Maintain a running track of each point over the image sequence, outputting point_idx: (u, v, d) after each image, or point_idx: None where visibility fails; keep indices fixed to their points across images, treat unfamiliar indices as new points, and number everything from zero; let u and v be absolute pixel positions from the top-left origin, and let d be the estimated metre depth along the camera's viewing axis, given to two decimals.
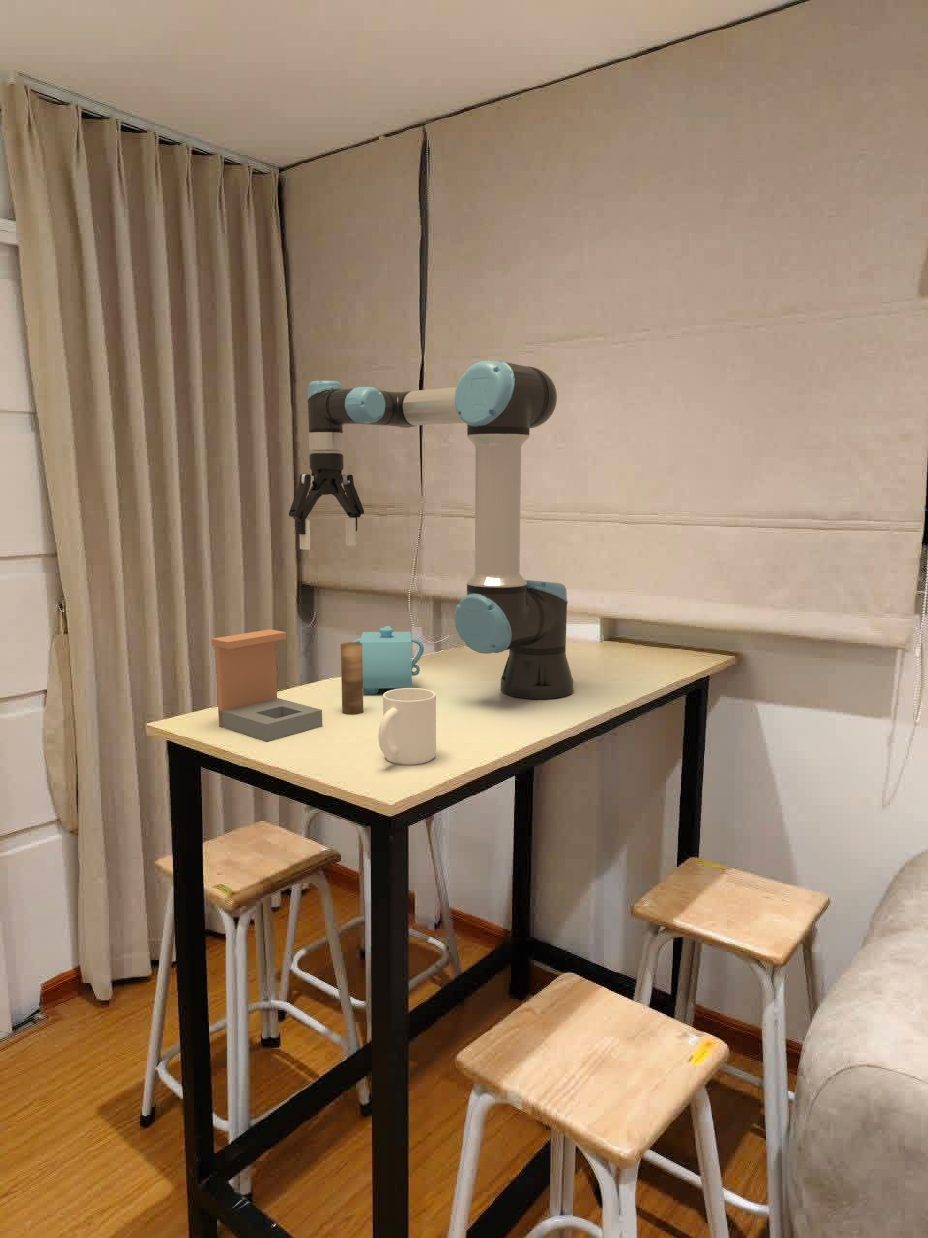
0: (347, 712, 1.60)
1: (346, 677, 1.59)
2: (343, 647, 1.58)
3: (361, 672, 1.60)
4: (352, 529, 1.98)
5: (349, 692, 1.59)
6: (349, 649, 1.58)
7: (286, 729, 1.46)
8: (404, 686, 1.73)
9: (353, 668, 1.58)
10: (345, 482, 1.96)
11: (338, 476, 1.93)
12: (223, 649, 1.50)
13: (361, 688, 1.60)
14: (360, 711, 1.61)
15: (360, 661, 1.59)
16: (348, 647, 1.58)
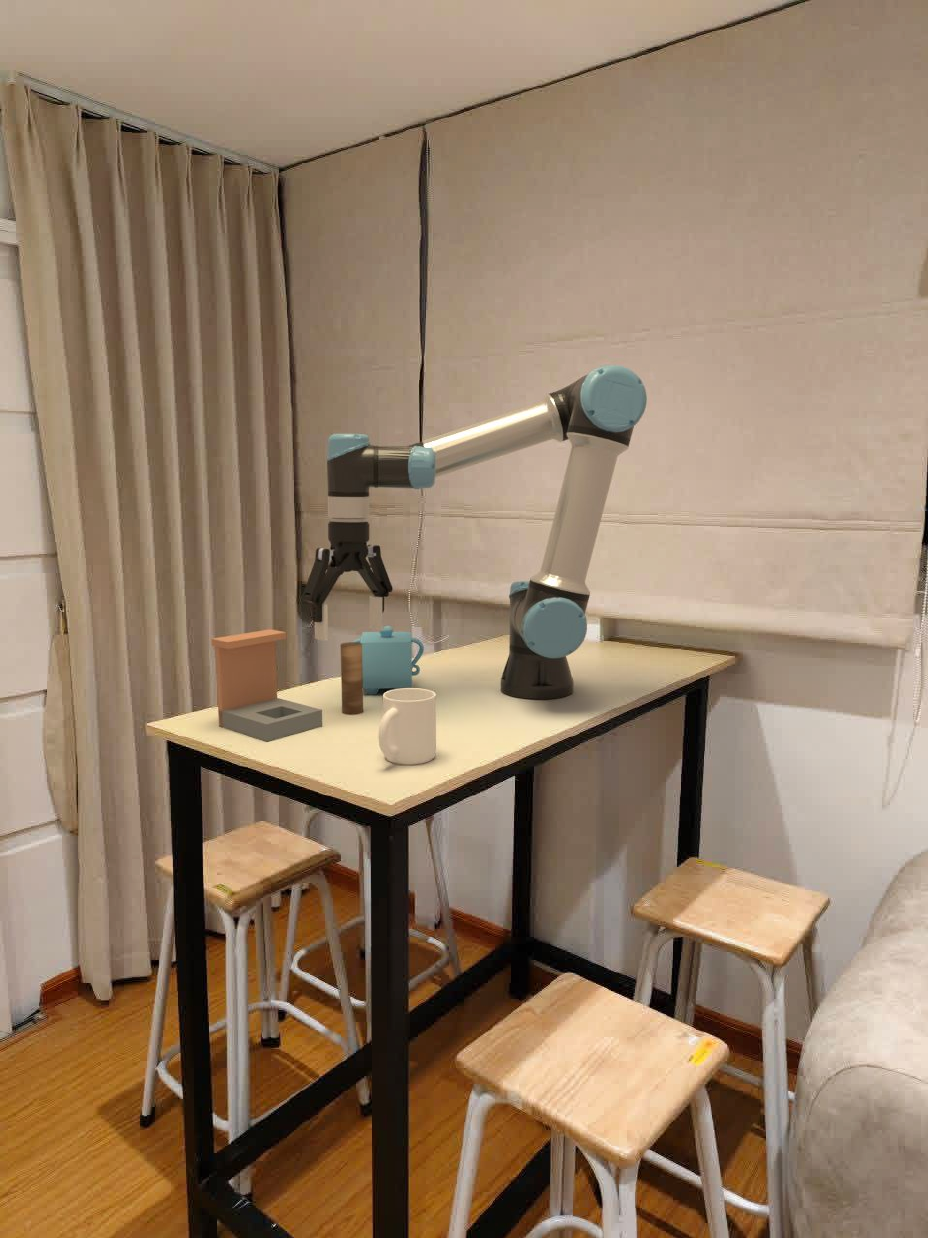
0: (347, 712, 1.60)
1: (346, 677, 1.59)
2: (343, 647, 1.58)
3: (361, 672, 1.60)
4: (378, 611, 1.63)
5: (349, 692, 1.59)
6: (348, 649, 1.58)
7: (286, 729, 1.46)
8: (404, 686, 1.73)
9: (353, 668, 1.58)
10: (371, 555, 1.60)
11: (362, 548, 1.58)
12: (223, 649, 1.50)
13: (361, 688, 1.60)
14: (360, 711, 1.61)
15: (360, 661, 1.59)
16: (348, 647, 1.58)
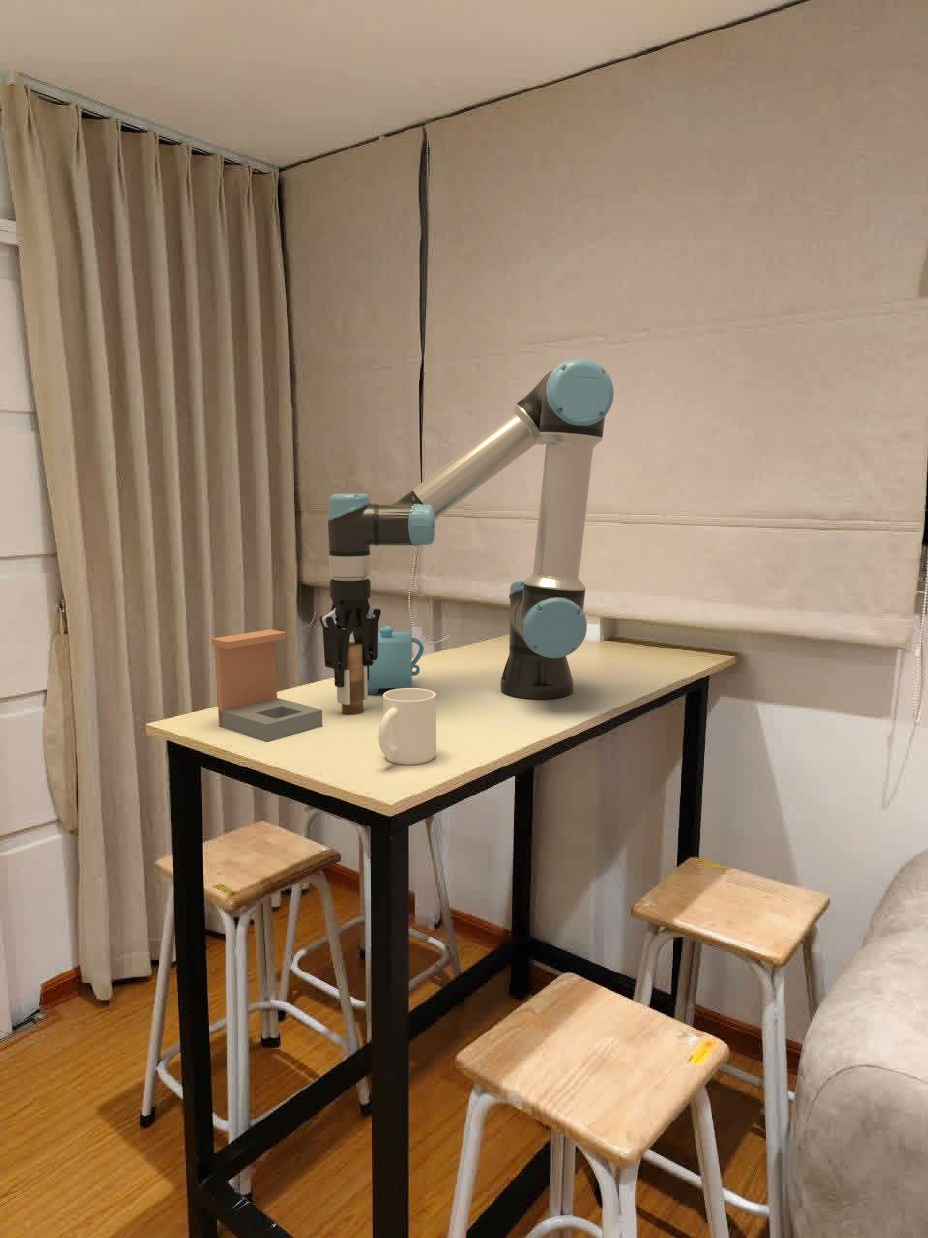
0: (347, 712, 1.60)
1: None
2: None
3: (361, 672, 1.60)
4: (363, 680, 1.62)
5: None
6: (349, 649, 1.58)
7: (286, 729, 1.46)
8: (404, 686, 1.73)
9: (353, 667, 1.58)
10: (369, 615, 1.62)
11: (365, 603, 1.60)
12: (223, 649, 1.50)
13: (361, 688, 1.60)
14: (360, 711, 1.61)
15: (360, 661, 1.59)
16: (348, 647, 1.58)
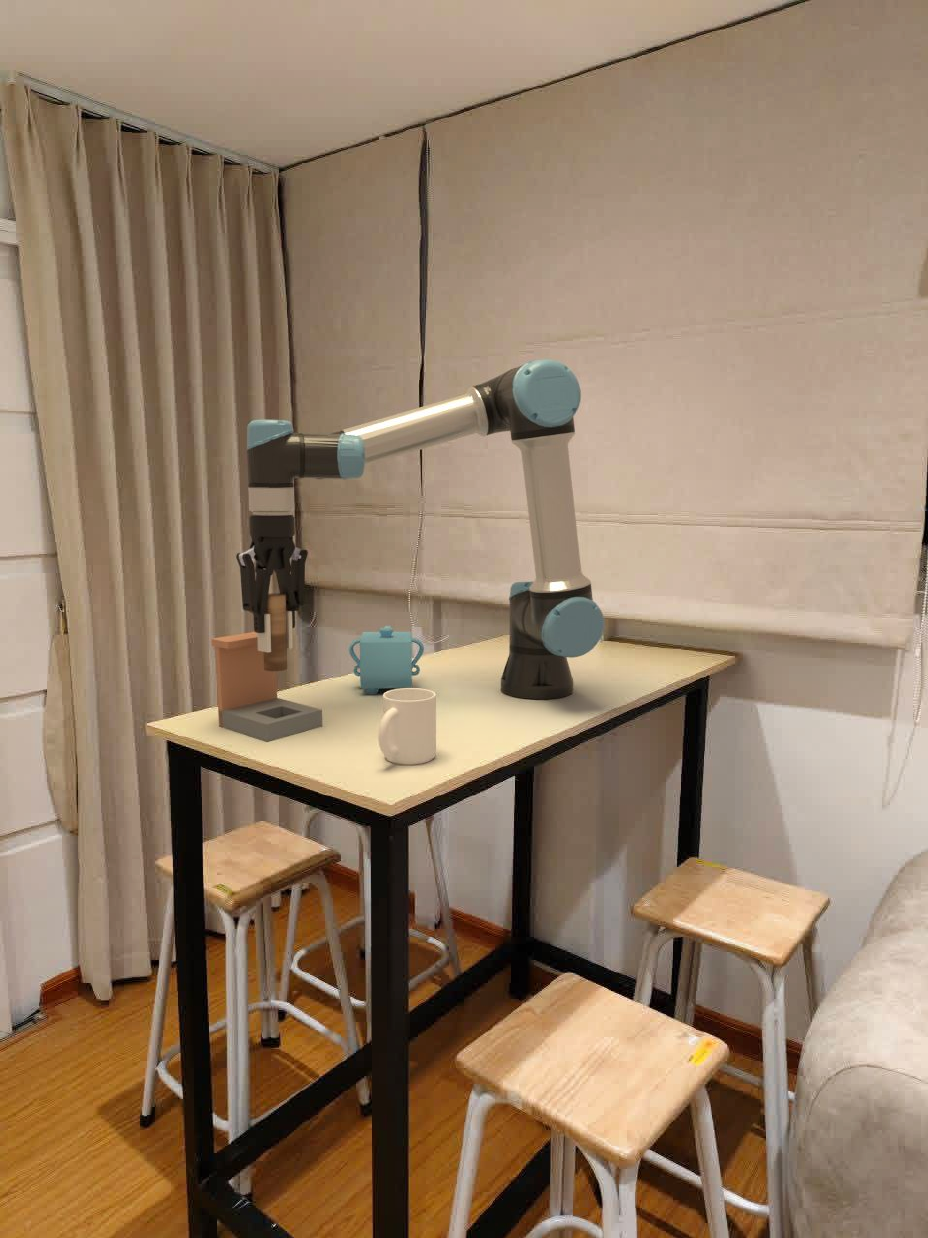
0: (268, 669, 1.47)
1: None
2: None
3: (284, 625, 1.47)
4: (287, 626, 1.48)
5: (271, 647, 1.46)
6: (270, 599, 1.45)
7: (286, 729, 1.46)
8: (404, 686, 1.73)
9: (275, 620, 1.46)
10: (295, 556, 1.49)
11: (289, 542, 1.47)
12: (223, 649, 1.50)
13: (284, 643, 1.47)
14: (283, 668, 1.48)
15: (283, 613, 1.46)
16: (269, 597, 1.45)
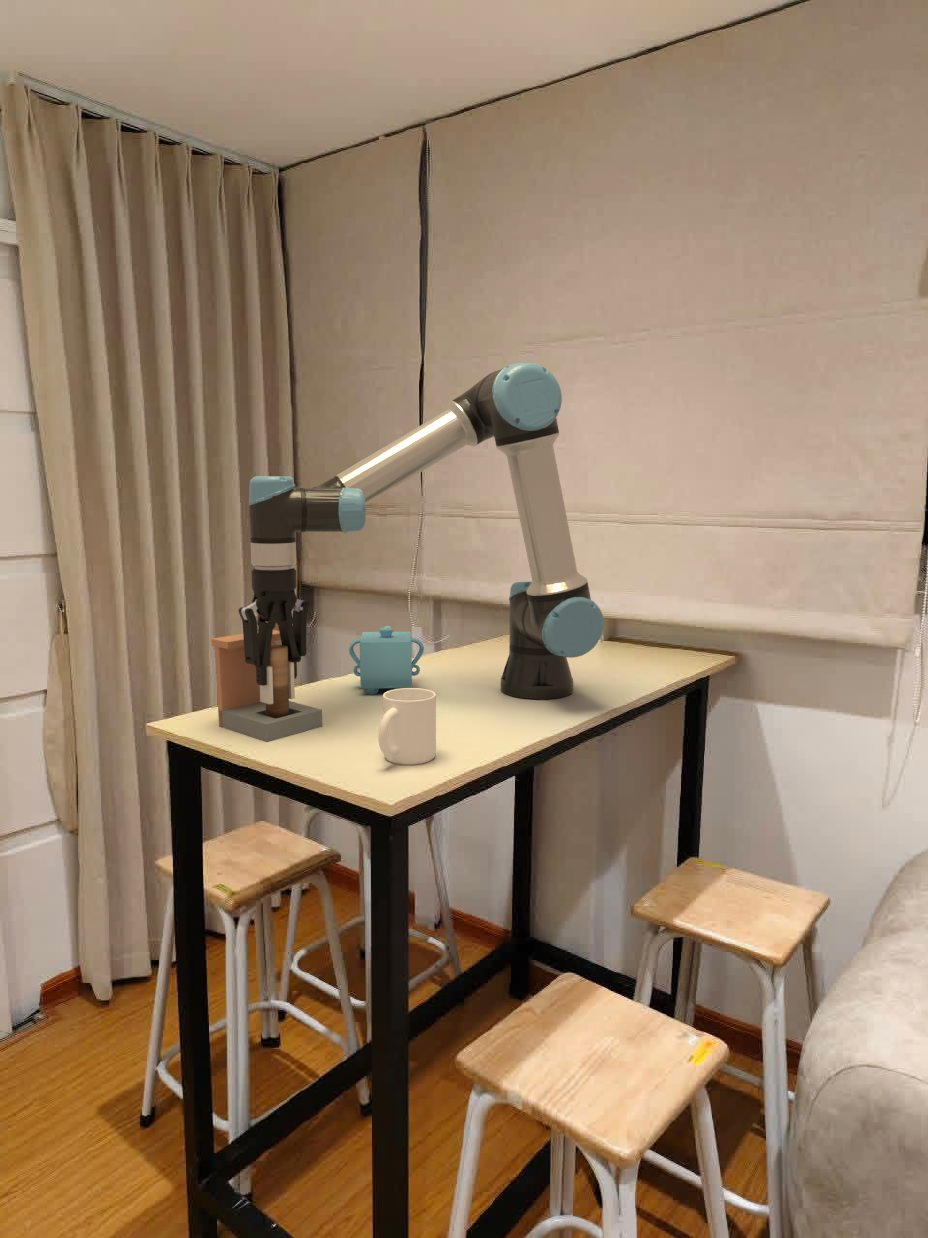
0: None
1: None
2: None
3: (286, 677, 1.49)
4: (289, 677, 1.50)
5: (273, 698, 1.48)
6: (272, 652, 1.46)
7: (286, 729, 1.46)
8: (404, 686, 1.73)
9: (277, 672, 1.47)
10: (297, 608, 1.50)
11: (291, 595, 1.48)
12: (223, 649, 1.50)
13: (286, 694, 1.49)
14: None
15: (285, 665, 1.48)
16: (271, 650, 1.46)
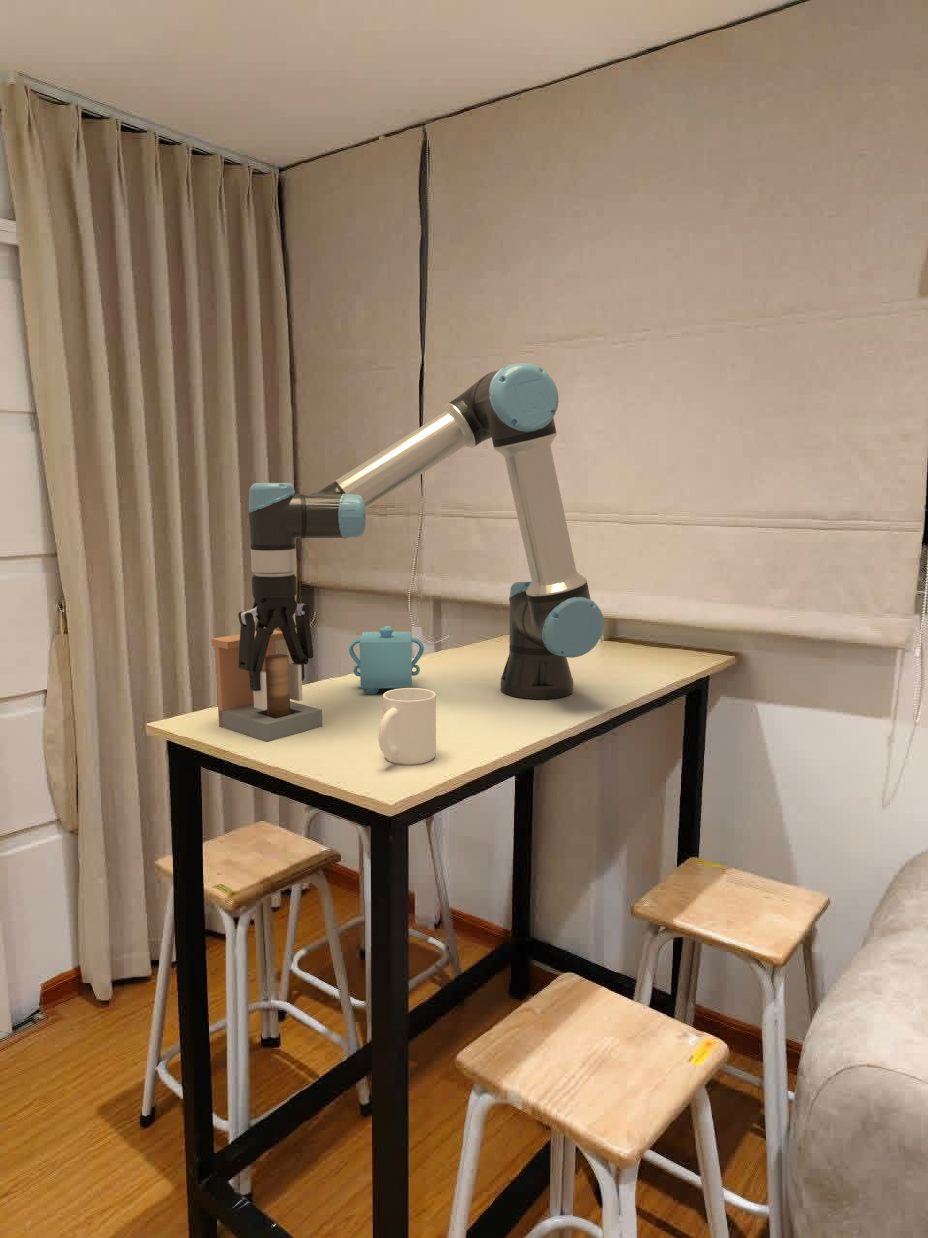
0: None
1: (271, 692, 1.48)
2: (267, 660, 1.47)
3: (287, 686, 1.49)
4: (297, 680, 1.51)
5: (274, 708, 1.48)
6: (273, 662, 1.47)
7: (286, 729, 1.46)
8: (404, 686, 1.73)
9: (278, 682, 1.47)
10: (298, 612, 1.51)
11: (291, 602, 1.48)
12: (223, 649, 1.50)
13: (287, 703, 1.49)
14: None
15: (286, 675, 1.48)
16: (272, 660, 1.47)
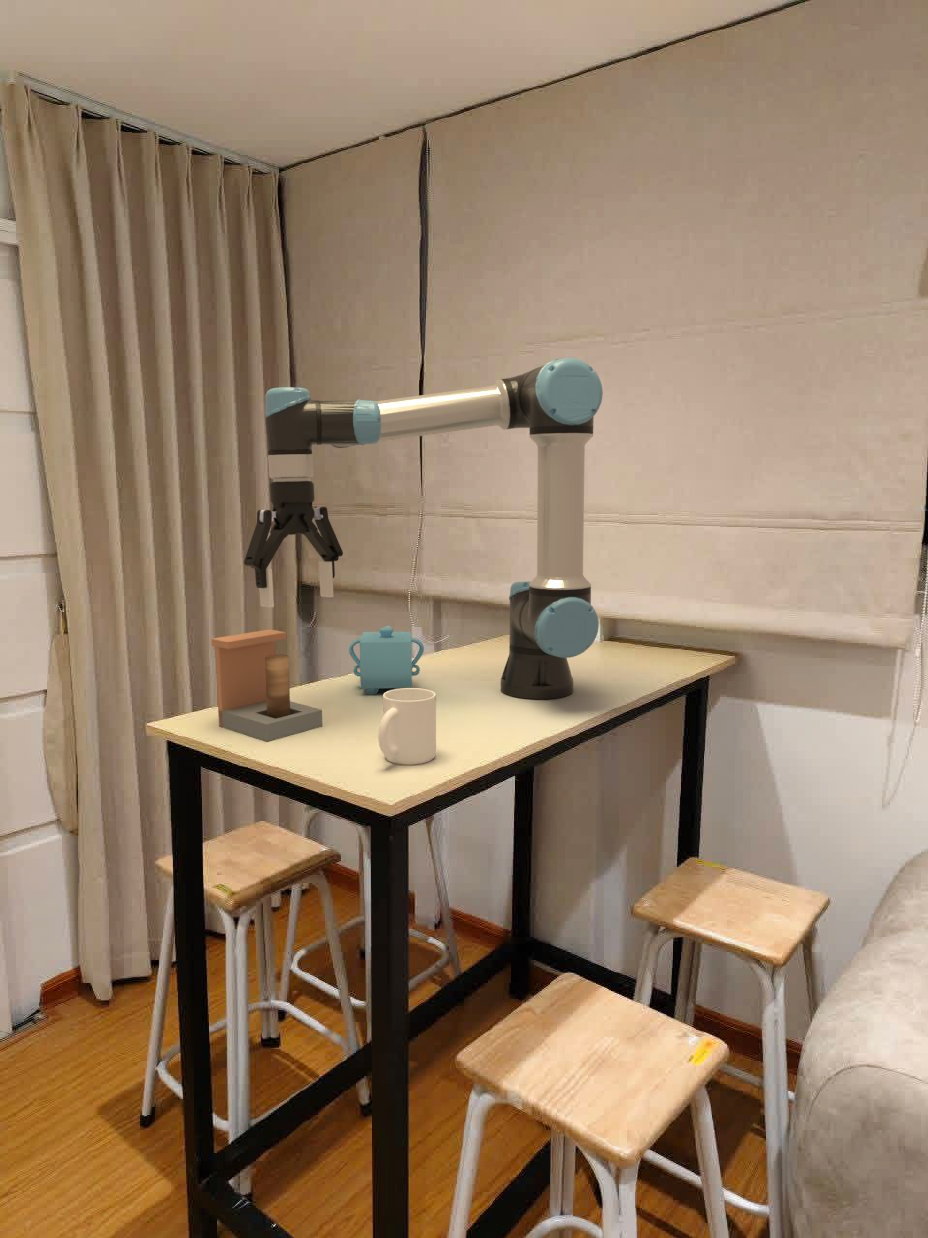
0: None
1: (271, 692, 1.48)
2: (267, 660, 1.47)
3: (287, 686, 1.49)
4: (328, 576, 1.55)
5: (274, 708, 1.48)
6: (273, 662, 1.47)
7: (286, 729, 1.46)
8: (404, 686, 1.73)
9: (278, 682, 1.47)
10: (317, 517, 1.52)
11: (308, 510, 1.50)
12: (223, 649, 1.50)
13: (287, 703, 1.49)
14: None
15: (286, 675, 1.48)
16: (272, 660, 1.47)
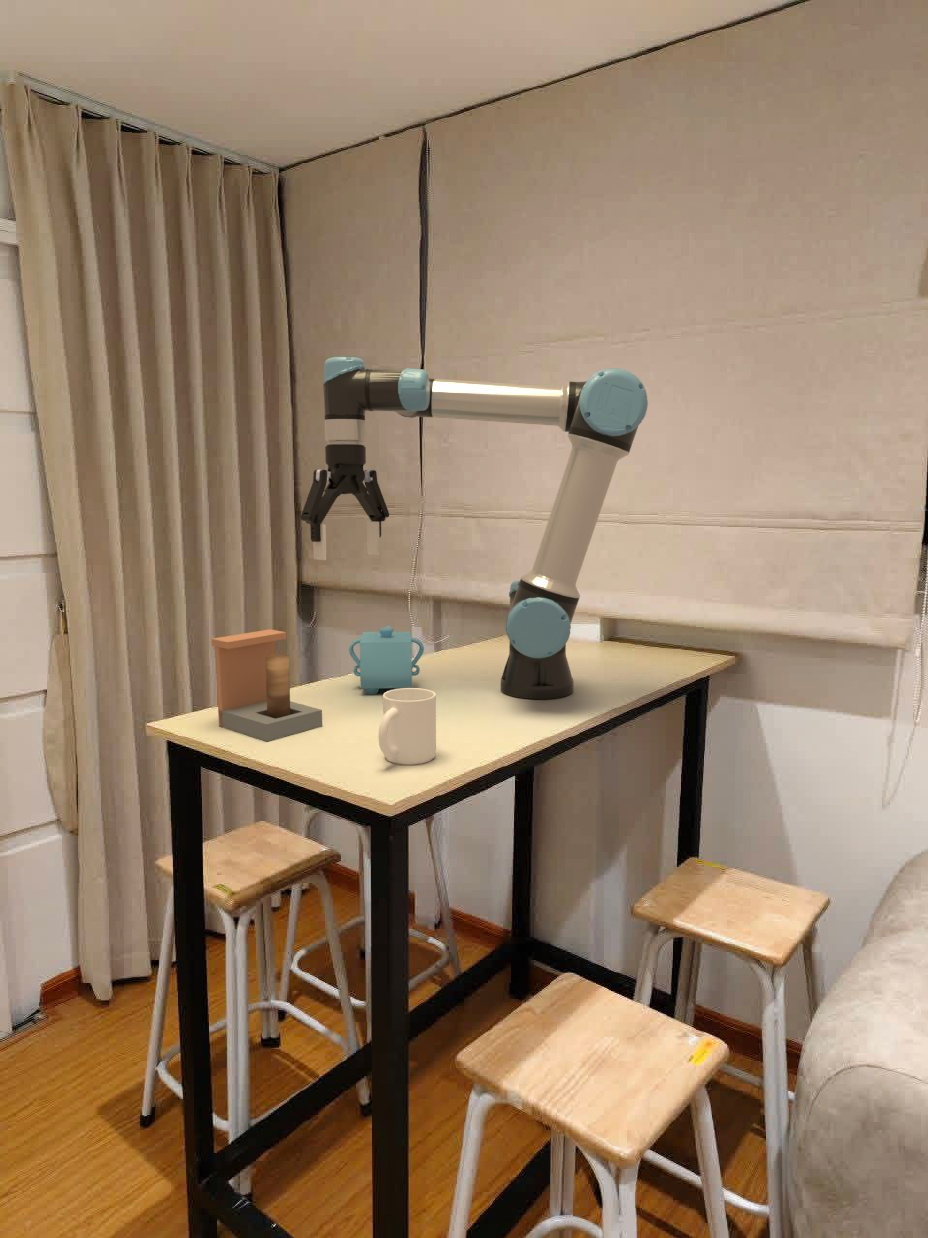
0: None
1: (271, 692, 1.48)
2: (267, 659, 1.47)
3: (287, 686, 1.49)
4: (375, 535, 1.67)
5: (274, 708, 1.48)
6: (273, 661, 1.47)
7: (286, 729, 1.46)
8: (404, 686, 1.73)
9: (279, 681, 1.47)
10: (367, 479, 1.64)
11: (359, 472, 1.62)
12: (223, 649, 1.50)
13: (287, 703, 1.49)
14: None
15: (286, 674, 1.48)
16: (273, 659, 1.47)
